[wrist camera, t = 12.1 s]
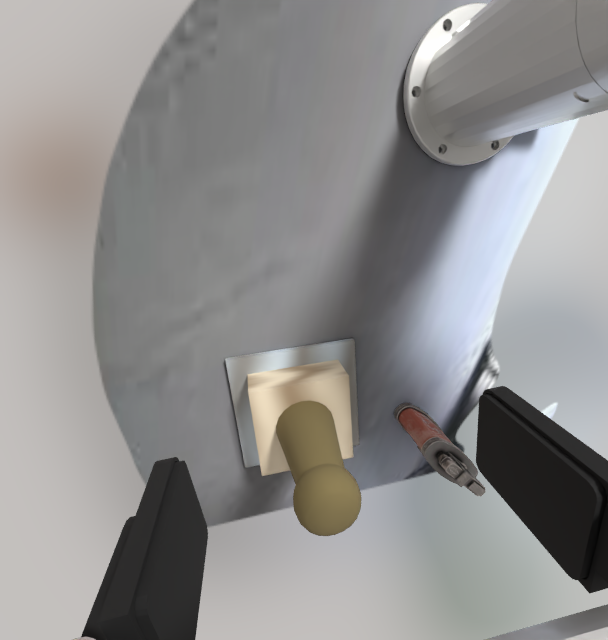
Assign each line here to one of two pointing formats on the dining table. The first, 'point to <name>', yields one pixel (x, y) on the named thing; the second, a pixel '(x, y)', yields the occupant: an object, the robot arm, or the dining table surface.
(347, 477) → the olive brown knobbed peg
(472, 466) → the lighter
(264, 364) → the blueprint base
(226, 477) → the dining table surface
